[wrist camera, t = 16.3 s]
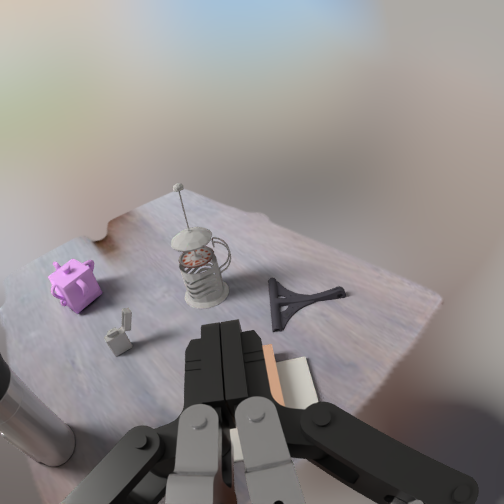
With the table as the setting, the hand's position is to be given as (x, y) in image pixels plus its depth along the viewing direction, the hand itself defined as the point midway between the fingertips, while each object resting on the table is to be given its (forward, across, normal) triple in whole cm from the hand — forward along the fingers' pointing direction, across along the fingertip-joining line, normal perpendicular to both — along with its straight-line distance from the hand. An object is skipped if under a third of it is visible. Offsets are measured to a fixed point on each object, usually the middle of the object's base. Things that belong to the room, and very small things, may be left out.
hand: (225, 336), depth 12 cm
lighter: (+31, -24, -33) cm, 51 cm away
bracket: (+36, +12, -34) cm, 51 cm away
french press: (+44, -7, -33) cm, 55 cm away
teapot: (+49, -41, -33) cm, 72 cm away
